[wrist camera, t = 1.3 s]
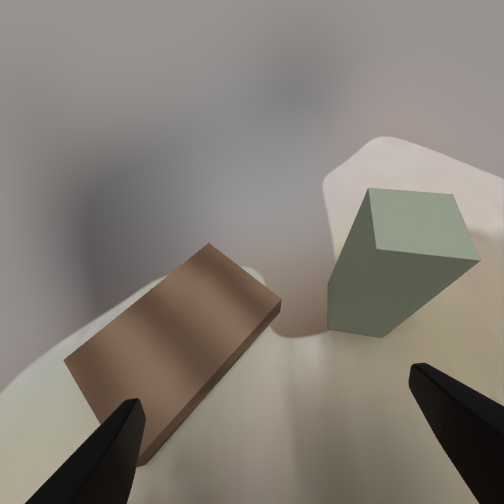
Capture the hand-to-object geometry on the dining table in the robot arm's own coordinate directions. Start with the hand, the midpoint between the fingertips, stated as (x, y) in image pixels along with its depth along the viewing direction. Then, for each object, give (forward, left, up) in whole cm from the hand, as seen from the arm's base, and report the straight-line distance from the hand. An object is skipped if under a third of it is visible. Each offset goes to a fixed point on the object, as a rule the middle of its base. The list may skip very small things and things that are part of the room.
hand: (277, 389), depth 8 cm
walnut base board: (+10, -1, -15) cm, 18 cm away
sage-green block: (-3, -12, -15) cm, 19 cm away
